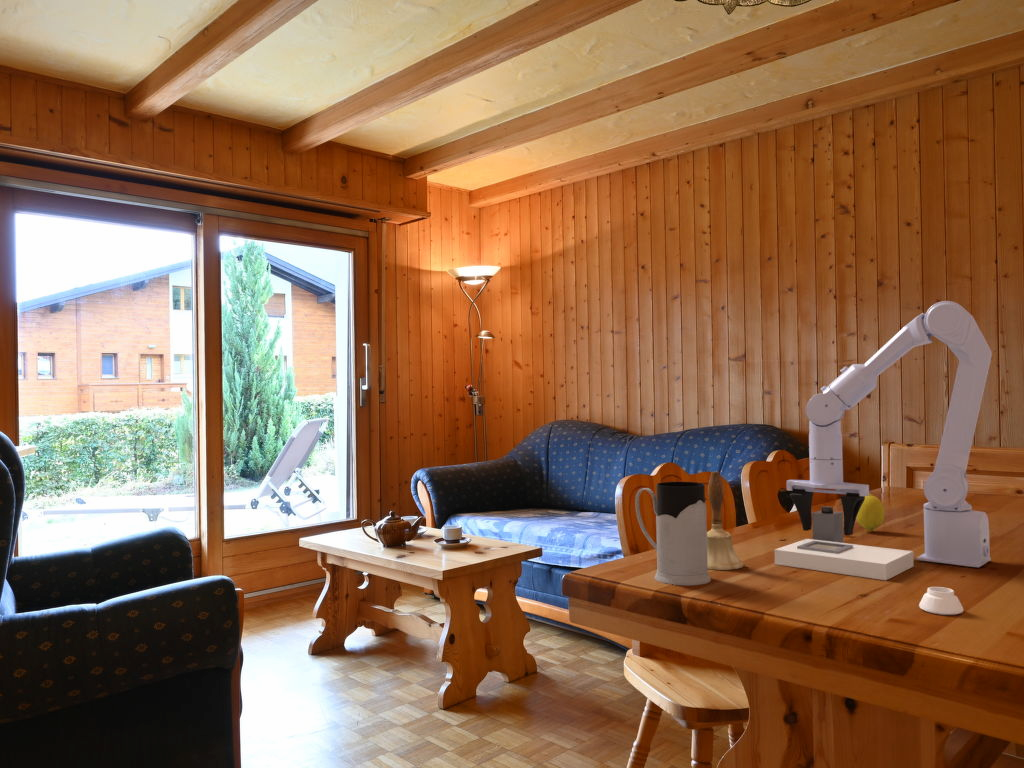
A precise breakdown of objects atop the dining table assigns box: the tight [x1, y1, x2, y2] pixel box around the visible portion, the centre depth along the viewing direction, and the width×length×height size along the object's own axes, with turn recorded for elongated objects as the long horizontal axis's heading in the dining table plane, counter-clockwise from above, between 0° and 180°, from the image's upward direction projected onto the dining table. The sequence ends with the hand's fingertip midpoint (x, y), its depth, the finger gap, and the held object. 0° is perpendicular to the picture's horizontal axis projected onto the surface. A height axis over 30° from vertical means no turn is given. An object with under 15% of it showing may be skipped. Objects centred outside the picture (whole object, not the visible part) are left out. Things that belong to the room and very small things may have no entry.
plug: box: [811, 505, 844, 543], centre depth 142 cm, size 4×4×8 cm
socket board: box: [774, 538, 915, 581], centre depth 129 cm, size 18×13×3 cm
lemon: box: [856, 493, 885, 533], centre depth 160 cm, size 6×6×8 cm
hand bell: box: [707, 471, 745, 571], centre depth 131 cm, size 8×8×16 cm
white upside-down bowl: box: [918, 586, 964, 616], centre depth 101 cm, size 5×3×5 cm
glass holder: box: [634, 481, 712, 586], centre depth 124 cm, size 9×14×15 cm, turn 36°
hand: (827, 532), depth 142 cm, fingers open, 7 cm apart
